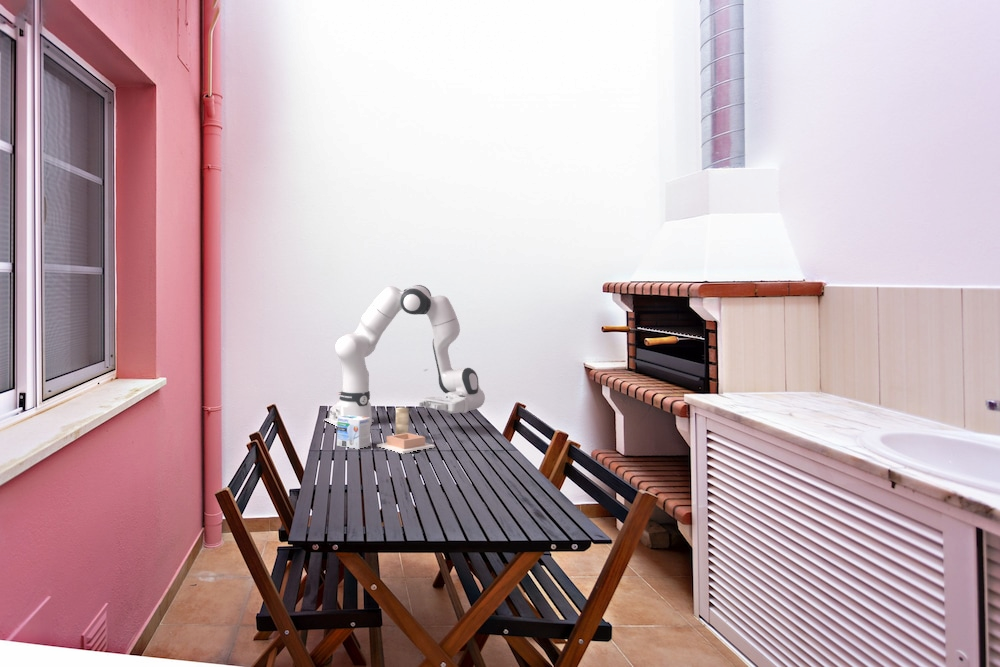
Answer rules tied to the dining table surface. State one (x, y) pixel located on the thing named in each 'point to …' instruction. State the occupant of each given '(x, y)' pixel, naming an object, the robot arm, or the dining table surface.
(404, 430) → the ash peg
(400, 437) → the collar base
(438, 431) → the dining table surface
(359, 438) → the light bulb box
